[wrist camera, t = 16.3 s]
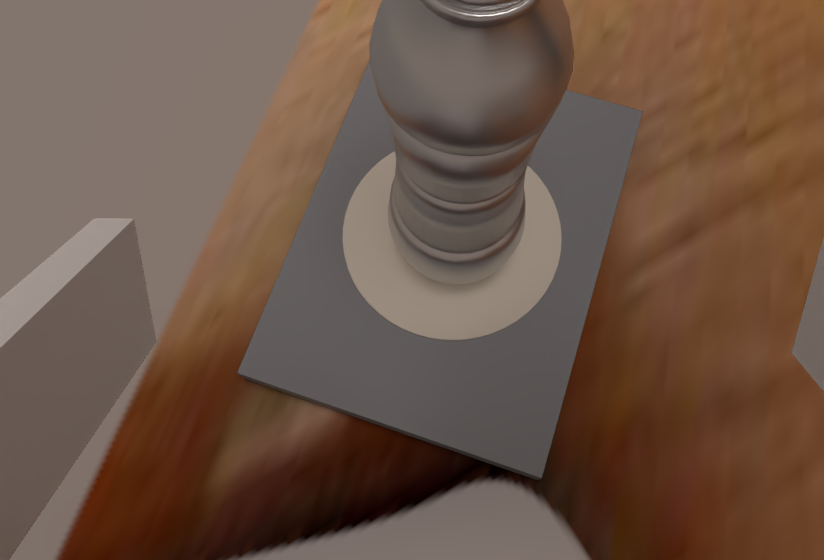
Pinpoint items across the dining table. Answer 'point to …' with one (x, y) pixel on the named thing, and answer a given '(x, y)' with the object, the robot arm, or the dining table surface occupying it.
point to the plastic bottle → (466, 122)
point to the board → (445, 294)
